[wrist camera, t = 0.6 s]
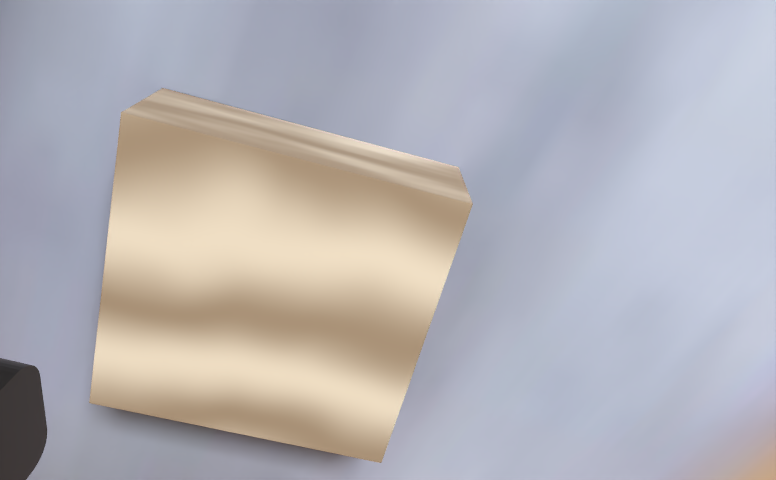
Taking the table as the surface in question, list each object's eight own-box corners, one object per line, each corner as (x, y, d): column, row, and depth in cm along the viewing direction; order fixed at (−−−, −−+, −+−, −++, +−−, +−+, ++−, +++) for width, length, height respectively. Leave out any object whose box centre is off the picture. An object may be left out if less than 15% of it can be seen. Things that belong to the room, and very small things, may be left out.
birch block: (162, 87, 28) (121, 112, 24) (458, 167, 30) (472, 204, 25) (128, 343, 34) (89, 402, 29) (380, 398, 35) (381, 462, 31)
